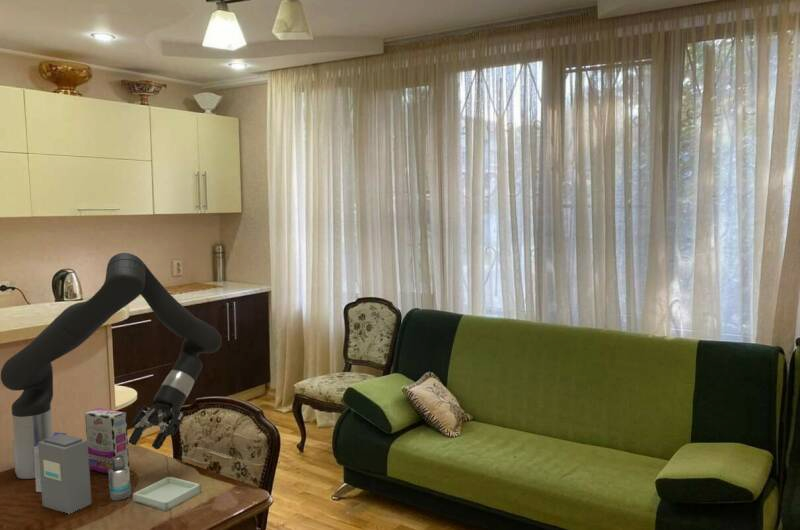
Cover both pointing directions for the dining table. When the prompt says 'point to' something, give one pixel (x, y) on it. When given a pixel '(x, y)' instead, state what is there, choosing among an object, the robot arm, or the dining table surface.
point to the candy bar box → (106, 438)
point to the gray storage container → (64, 473)
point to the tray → (167, 493)
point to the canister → (119, 479)
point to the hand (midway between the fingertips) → (143, 445)
